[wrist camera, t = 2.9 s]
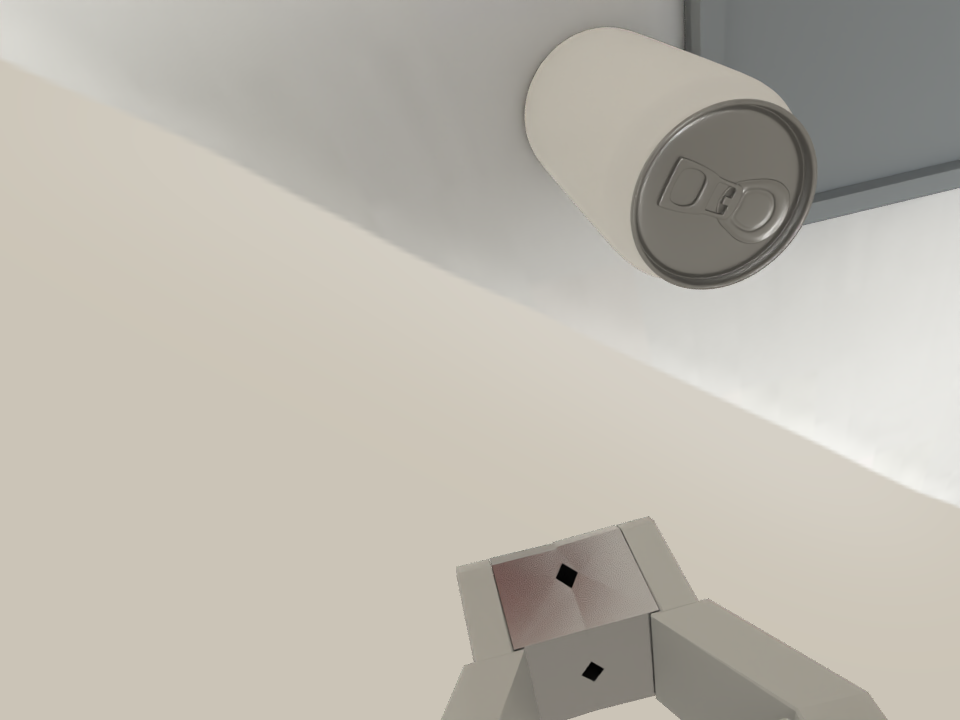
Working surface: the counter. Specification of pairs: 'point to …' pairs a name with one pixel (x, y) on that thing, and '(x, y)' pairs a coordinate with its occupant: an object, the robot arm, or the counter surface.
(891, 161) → the tray
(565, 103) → the can
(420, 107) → the counter surface
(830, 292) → the counter surface
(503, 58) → the counter surface
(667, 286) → the counter surface
